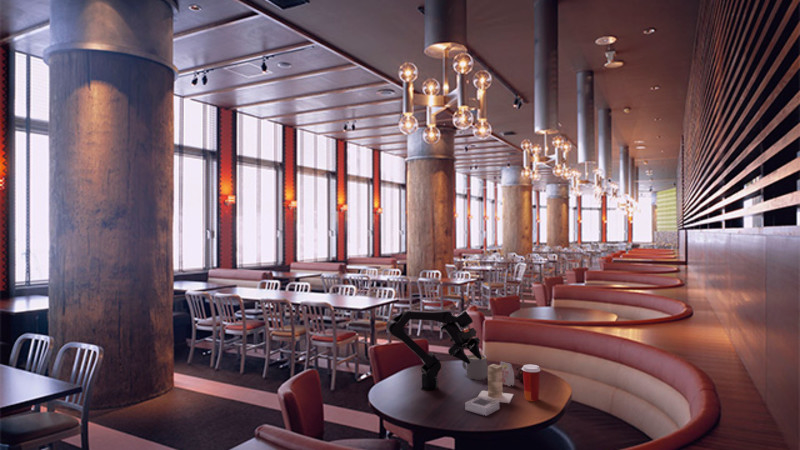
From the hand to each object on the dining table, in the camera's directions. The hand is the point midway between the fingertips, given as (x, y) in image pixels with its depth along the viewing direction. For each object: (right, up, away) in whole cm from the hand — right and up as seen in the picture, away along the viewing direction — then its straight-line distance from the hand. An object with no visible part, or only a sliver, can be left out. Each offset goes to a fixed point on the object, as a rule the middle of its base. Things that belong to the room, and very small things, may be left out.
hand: (475, 361), depth 222 cm
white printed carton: (+16, -14, +10) cm, 23 cm away
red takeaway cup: (+26, -14, +13) cm, 32 cm away
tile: (+7, -13, -8) cm, 17 cm away
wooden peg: (+7, -13, -8) cm, 17 cm away
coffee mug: (+3, -14, +23) cm, 27 cm away
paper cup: (+22, -13, -11) cm, 28 cm away
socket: (-1, -13, -22) cm, 26 cm away
